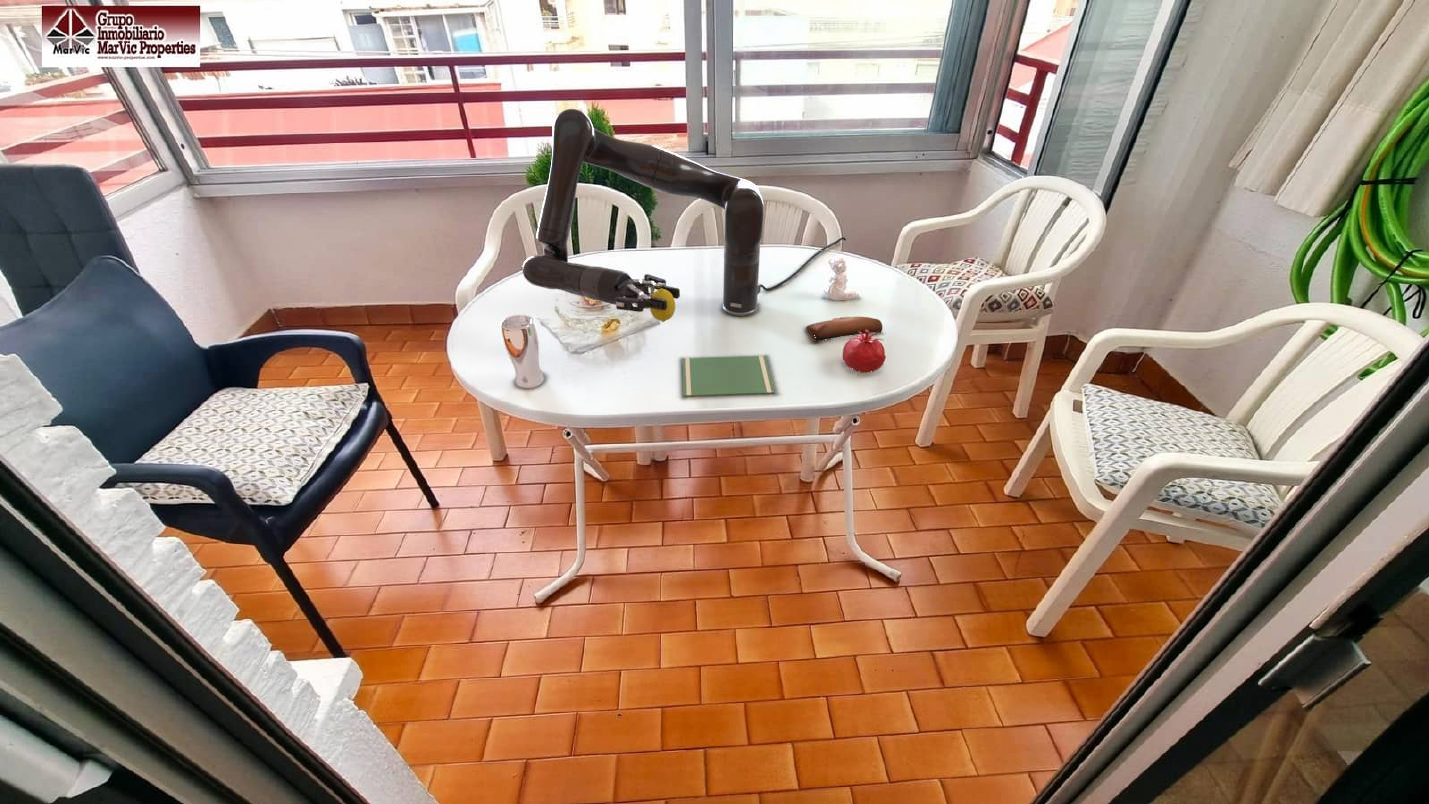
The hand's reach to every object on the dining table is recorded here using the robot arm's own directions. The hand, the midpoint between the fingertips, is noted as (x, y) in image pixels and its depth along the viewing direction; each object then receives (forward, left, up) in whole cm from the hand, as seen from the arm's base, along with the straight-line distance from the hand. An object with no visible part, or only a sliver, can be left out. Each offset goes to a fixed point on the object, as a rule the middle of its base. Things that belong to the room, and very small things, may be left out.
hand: (672, 299), depth 124 cm
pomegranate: (-22, +38, -18) cm, 47 cm away
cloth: (-3, +12, -18) cm, 22 cm away
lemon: (0, -3, -6) cm, 7 cm away
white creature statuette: (-54, +21, -18) cm, 60 cm away
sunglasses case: (-35, +29, -18) cm, 49 cm away
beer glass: (+20, -26, -18) cm, 37 cm away
